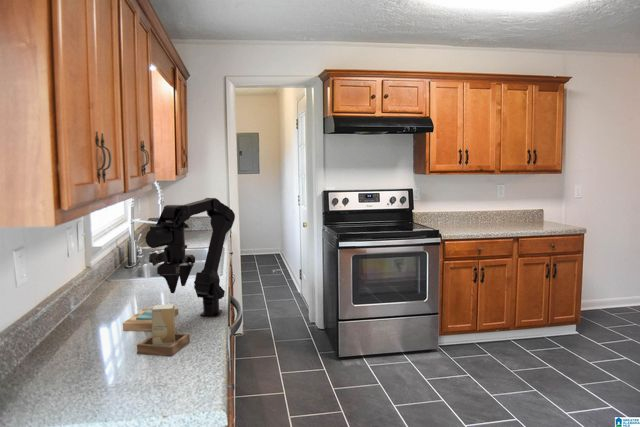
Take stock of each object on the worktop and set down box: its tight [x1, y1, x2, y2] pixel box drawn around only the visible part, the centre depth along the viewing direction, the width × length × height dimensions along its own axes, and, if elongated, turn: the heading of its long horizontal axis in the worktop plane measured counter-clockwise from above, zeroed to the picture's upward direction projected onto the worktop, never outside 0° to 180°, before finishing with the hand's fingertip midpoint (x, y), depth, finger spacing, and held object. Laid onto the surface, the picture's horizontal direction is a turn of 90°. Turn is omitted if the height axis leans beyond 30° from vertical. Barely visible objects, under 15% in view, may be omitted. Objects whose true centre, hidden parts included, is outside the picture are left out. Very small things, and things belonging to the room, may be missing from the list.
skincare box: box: [151, 304, 176, 346], centre depth 152 cm, size 6×4×12 cm
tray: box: [136, 332, 191, 357], centre depth 153 cm, size 11×11×2 cm
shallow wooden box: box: [122, 306, 179, 332], centre depth 177 cm, size 18×12×3 cm, turn 174°
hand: (178, 289), depth 170 cm, fingers open, 9 cm apart
